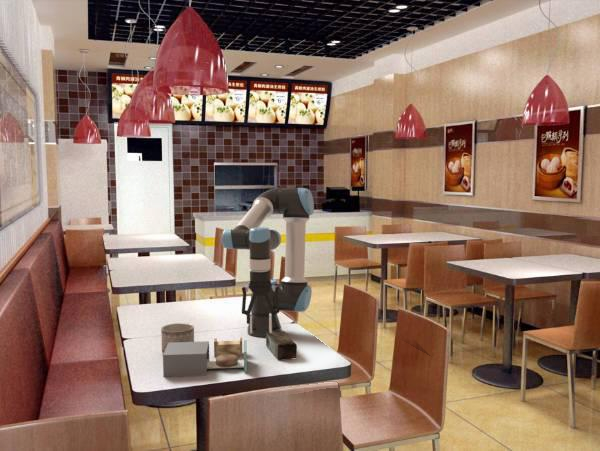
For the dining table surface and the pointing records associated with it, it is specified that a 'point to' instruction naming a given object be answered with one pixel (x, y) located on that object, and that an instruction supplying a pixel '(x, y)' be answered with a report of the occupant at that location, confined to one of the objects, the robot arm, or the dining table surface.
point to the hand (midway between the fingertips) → (260, 331)
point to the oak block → (227, 347)
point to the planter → (176, 334)
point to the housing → (185, 359)
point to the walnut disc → (227, 360)
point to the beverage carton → (281, 345)
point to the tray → (240, 364)
